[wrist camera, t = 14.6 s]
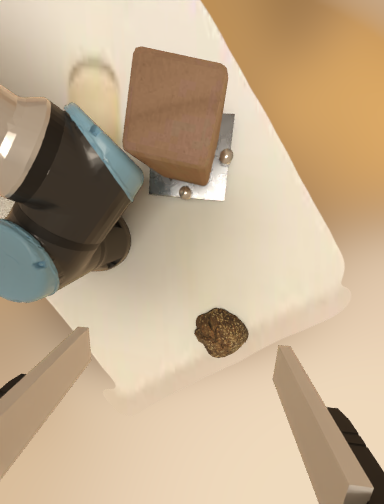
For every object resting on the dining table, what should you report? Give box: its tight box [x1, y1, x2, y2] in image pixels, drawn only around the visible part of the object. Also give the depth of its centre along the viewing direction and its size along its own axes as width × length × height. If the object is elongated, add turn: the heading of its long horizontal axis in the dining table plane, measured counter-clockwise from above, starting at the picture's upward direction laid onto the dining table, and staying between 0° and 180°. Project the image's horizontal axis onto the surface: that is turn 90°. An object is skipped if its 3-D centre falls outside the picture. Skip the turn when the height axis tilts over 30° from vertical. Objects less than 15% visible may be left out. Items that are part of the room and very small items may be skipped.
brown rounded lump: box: [194, 308, 248, 358], centre depth 47 cm, size 13×12×5 cm
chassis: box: [149, 114, 235, 201], centre depth 38 cm, size 17×17×4 cm
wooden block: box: [123, 47, 228, 186], centre depth 29 cm, size 10×10×20 cm
